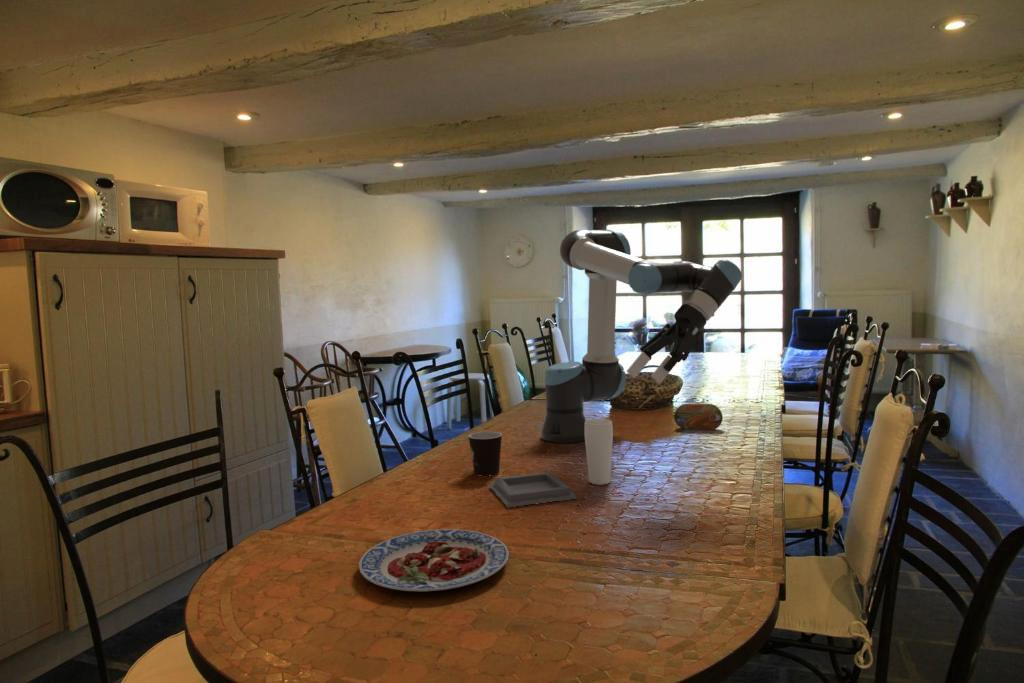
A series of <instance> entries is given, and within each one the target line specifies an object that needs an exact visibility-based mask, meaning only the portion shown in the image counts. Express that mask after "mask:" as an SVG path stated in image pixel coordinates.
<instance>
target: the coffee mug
mask: <svg viewBox="0 0 1024 683" xmlns="http://www.w3.org/2000/svg"><path fill="white" fill-rule="evenodd" d="M502 436H503V434H502V433H501V432H497V431H478V432H473V433H470V434H468V442H469V447H470V448H469V449H470V453H471V459H472V460H471V461H472V466H473V473H475V474H476V475H482V476H488V477H490V476H489V475H494V476H496V475H495V474H497V473H498V474H499V473H500V464H501V452H502V451H501V450H502V440H503V439H502V438H503V437H502ZM475 474H474V475H475ZM498 474H497V475H498ZM476 475H475V476H476ZM482 476H481V477H482Z"/></svg>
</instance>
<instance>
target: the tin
mask: <svg viewBox="0 0 1024 683" xmlns="http://www.w3.org/2000/svg"><path fill="white" fill-rule="evenodd" d="M723 418H724V417H723V413H722V411H721V409H720V408H719V407H718V406H717V405H715V404H712V403H683V404H681V405H679V406H678V407H677V408H676V409H675V411H674V413H673V419H674V422H675V424H676V425H677V427H679V428H681V429H683V430H686V431H687V430H688V431H714V430H716V429H718V428H719V427H720V426H721V424H722V422H723Z"/></svg>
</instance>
